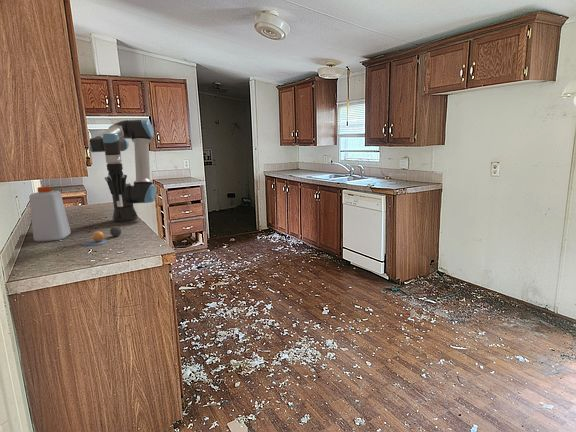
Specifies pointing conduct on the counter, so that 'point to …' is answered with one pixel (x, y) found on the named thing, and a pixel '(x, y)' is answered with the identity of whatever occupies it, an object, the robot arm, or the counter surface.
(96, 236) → the orange ball
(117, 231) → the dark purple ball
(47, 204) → the plastic bottle
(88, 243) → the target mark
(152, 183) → the robot arm
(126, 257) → the counter surface
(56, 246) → the counter surface
